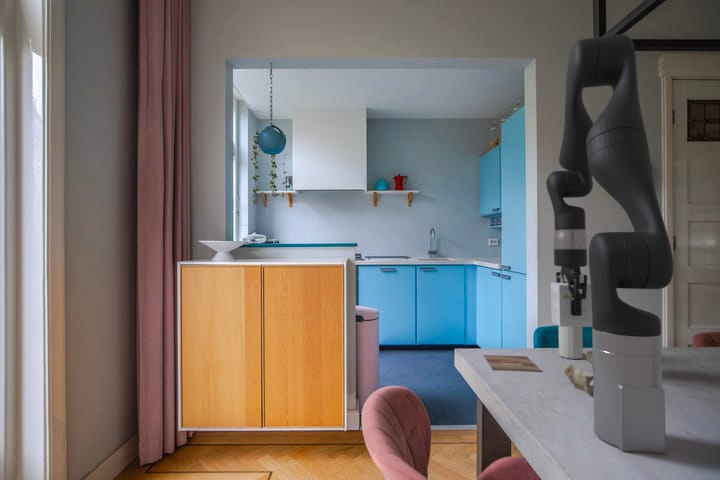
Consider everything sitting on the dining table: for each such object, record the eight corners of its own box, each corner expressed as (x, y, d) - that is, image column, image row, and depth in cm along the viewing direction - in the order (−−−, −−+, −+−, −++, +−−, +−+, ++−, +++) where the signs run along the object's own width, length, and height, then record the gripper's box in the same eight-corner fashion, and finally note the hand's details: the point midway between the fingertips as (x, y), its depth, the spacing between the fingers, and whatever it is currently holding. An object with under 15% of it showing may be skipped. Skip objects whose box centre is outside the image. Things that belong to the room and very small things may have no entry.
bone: (561, 386, 83) (566, 341, 87) (562, 394, 88) (567, 351, 92) (609, 397, 78) (611, 349, 83) (608, 404, 83) (610, 359, 87)
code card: (542, 371, 98) (542, 371, 98) (492, 369, 100) (492, 369, 100) (526, 356, 112) (526, 356, 112) (483, 355, 113) (483, 354, 113)
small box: (582, 323, 102) (582, 282, 103) (593, 327, 97) (592, 284, 97) (550, 322, 103) (550, 282, 104) (559, 326, 98) (558, 284, 98)
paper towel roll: (573, 360, 108) (572, 282, 108) (554, 355, 113) (553, 281, 114) (590, 357, 111) (589, 281, 112) (570, 352, 116) (569, 280, 117)
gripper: (599, 247, 93) (600, 318, 93) (574, 247, 107) (575, 309, 107) (565, 247, 94) (566, 318, 94) (545, 247, 108) (546, 309, 108)
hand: (571, 313), depth 100 cm, fingers closed on small box, 5 cm apart
